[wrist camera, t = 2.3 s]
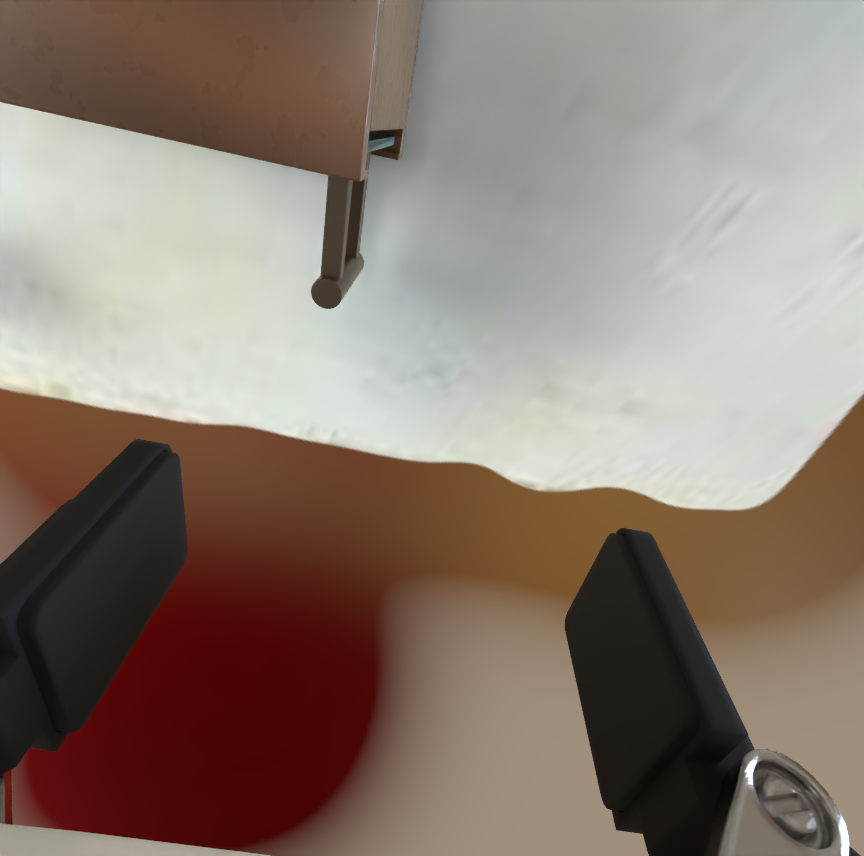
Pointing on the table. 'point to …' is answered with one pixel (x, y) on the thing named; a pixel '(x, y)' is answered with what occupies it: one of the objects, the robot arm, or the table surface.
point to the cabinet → (222, 72)
